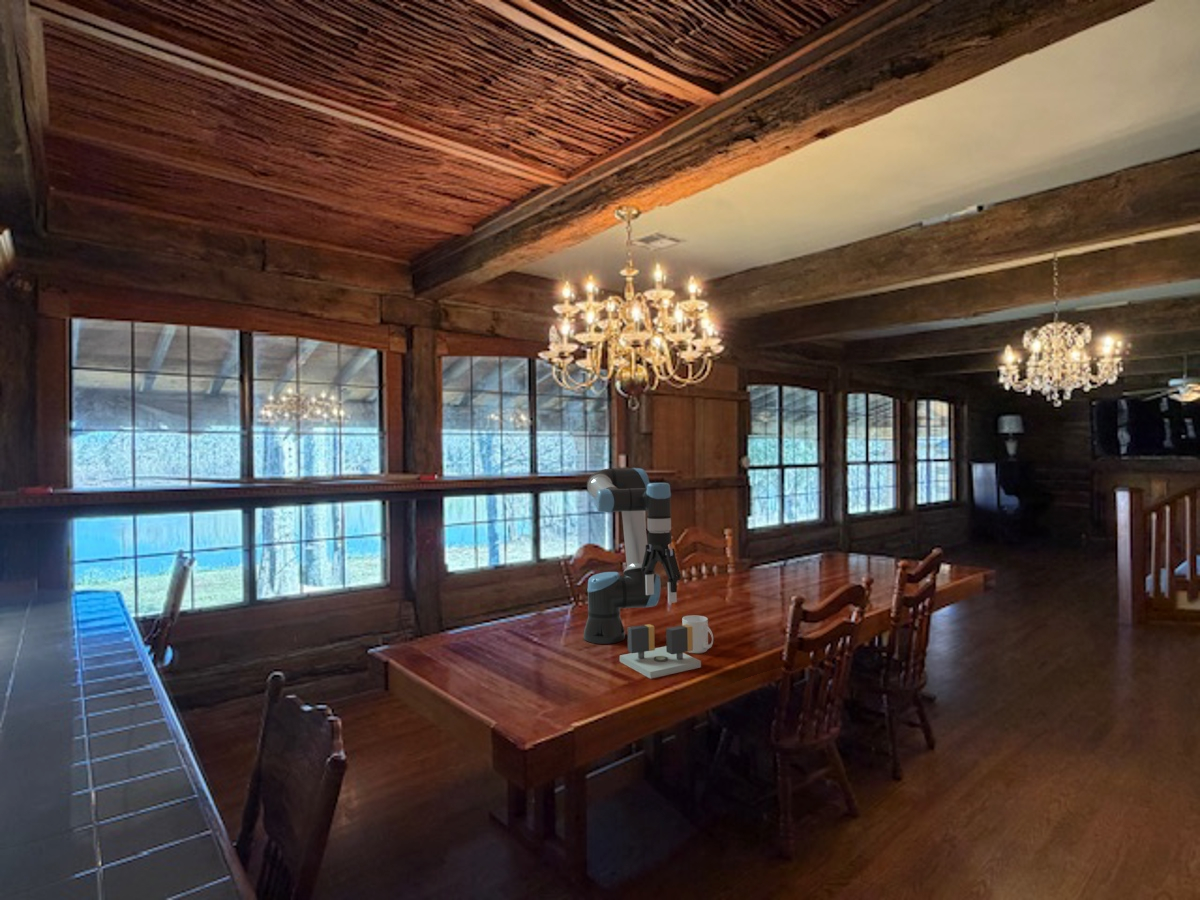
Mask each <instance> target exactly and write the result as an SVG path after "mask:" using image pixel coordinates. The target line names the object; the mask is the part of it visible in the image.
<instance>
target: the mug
mask: <svg viewBox="0 0 1200 900" xmlns="http://www.w3.org/2000/svg"><path fill="white" fill-rule="evenodd" d="M681 621H682V623H681V625H685V624H687V625H690V626H692V630H693V650H692V651H686V652H685V653H690V654H703V653H706V652H707V651H708V650H709V649H711V648H712V646H713V643H714V635H713V632H712V630H711V628H710V627H709V619H708V617H706V616H704V615H684V616H683V617H682V619H681ZM709 635H710V636H711V642H710V643H709Z"/></svg>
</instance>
